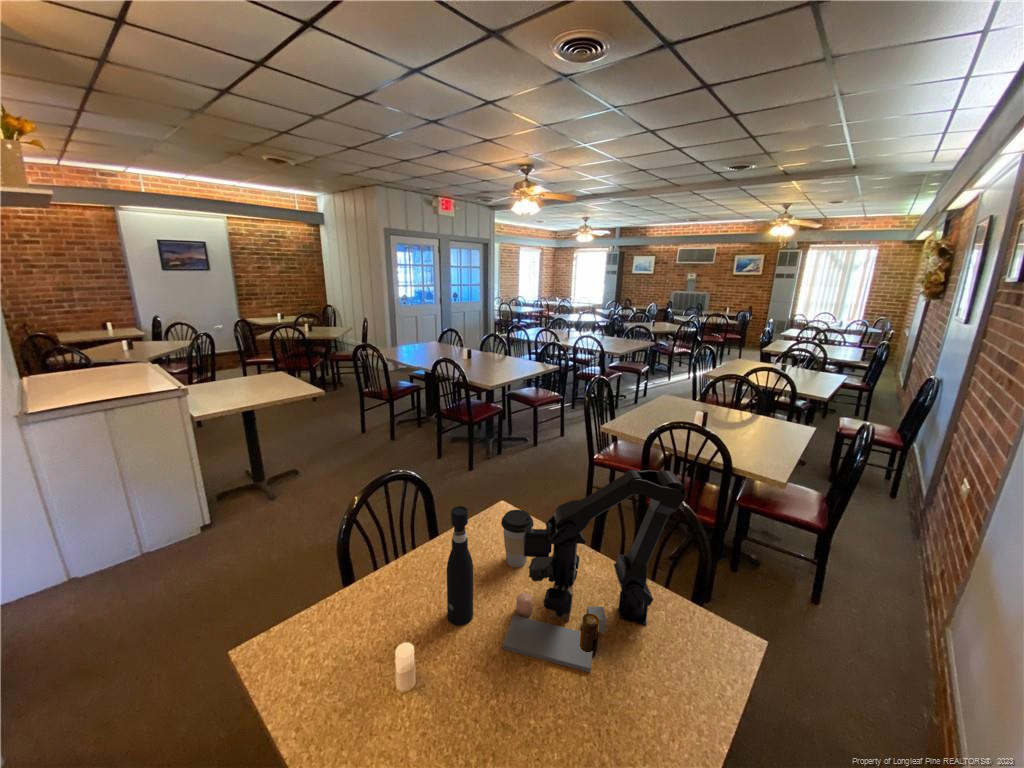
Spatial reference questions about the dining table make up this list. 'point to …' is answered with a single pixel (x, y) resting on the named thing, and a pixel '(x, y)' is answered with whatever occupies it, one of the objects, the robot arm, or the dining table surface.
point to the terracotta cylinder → (524, 605)
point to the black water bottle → (459, 572)
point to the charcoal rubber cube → (600, 614)
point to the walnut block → (564, 616)
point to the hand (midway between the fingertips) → (561, 607)
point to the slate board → (547, 643)
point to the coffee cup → (515, 535)
